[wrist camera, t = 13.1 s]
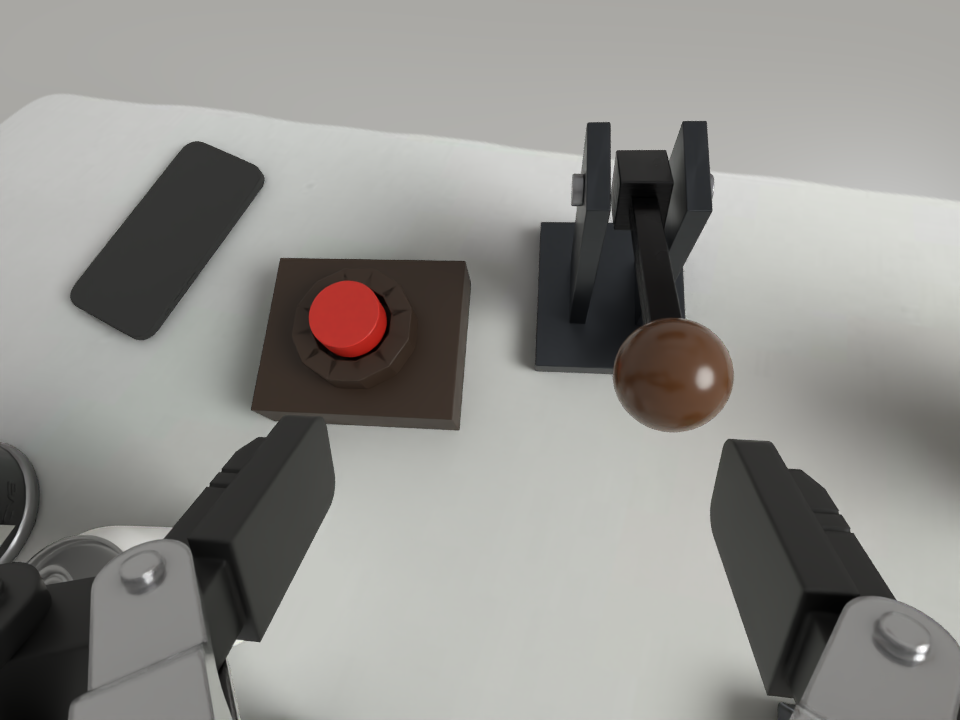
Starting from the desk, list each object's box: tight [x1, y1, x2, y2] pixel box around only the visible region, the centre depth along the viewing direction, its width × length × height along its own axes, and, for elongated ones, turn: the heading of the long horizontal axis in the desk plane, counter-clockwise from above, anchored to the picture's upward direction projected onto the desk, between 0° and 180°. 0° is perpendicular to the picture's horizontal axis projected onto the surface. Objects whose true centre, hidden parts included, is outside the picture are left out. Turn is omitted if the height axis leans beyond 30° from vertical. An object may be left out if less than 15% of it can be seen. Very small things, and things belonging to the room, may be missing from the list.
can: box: [27, 526, 244, 647], centre depth 28 cm, size 6×6×12 cm
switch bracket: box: [535, 121, 714, 374], centre depth 30 cm, size 10×9×14 cm
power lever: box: [611, 150, 734, 432], centre depth 21 cm, size 14×4×4 cm, turn 176°
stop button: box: [309, 281, 387, 357], centre depth 32 cm, size 4×4×2 cm
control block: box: [251, 258, 471, 430], centre depth 35 cm, size 12×10×5 cm
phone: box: [70, 141, 264, 340], centre depth 41 cm, size 7×1×15 cm
